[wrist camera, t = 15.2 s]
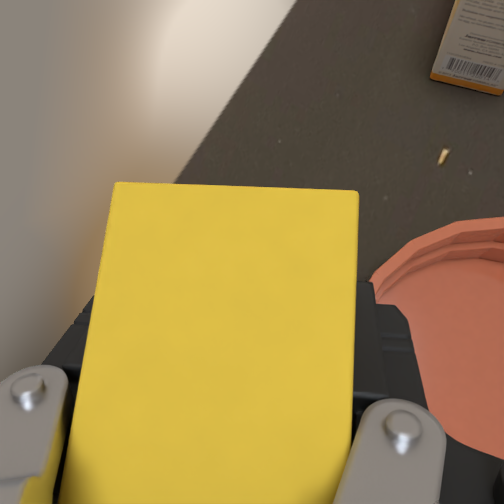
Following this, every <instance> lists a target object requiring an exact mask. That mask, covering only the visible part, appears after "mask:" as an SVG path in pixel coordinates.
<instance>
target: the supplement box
mask: <svg viewBox="0 0 504 504" xmlns="http://www.w3.org/2000/svg"><path fill="white" fill-rule="evenodd" d="M430 78H431V79H433V80H436V81H442V82H445V83H450V84H453V85H458V86H461V87H466V88H470V89H474V90H478V91H482V92H485V93H490V94H494V95H501V94H502V92H503V91H504V0H455V3H454V6H453V9H452V12H451V15H450V18H449V21H448V24H447V27H446V30H445V33H444V35H443V38H442V41H441V45H440V48H439V51H438V53H437V56H436V60H435V62H434V65H433V68H432V72H431V75H430Z"/></svg>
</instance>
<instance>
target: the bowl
mask: <svg viewBox="0 0 504 504" xmlns="http://www.w3.org/2000/svg"><path fill="white" fill-rule="evenodd" d="M368 282H373V285H374V292H375V299H376V304H390V305H396V306H397V308H398V309H399V310H400V311H401V312H402V313H403V315H404V316H405V317H406V318H407V319H408V323H409V327H410V331H411V336H412V337H411V339H412V340H413V345H414V349H415V353H416V358H417V362H418V366H419V371H420V375H421V379H422V384H423V388H424V393H425V397H426V401H427V406H428V409H429V412H430V413H431V414H433V415H434V416H435V417H436V419H437V420H438V421H439V422H440V424H441V425H442V427H443V429H444V431H445V432H446V433H447V434H448V435H449V436H451V437H452V438H454V439H455V440H457V441H459V442H461V443H462V444H464V445H467V446H469V447H471V448H474V449H476V450H479V451H482V452H484V453H487V454H490V455H492V456H495V457H498V458H500V459H503V460H504V217H496V218H485V219H475V220H464V221H457V222H454V223H451V224H449V225H446V226H444V227H442V228H439V229H437V230H434V231H432V232H430V233H427V234H425V235H422V236H420V237H418V238H415V239H413V240H411V241H410V242H408V243H407V244H406V245H405V246H404V247H403V248H401V249H400V250H399V251H398V252H397V253H396V254H394V255H393V256H392V257H391V258H390V259H389V260H387V261H386V262H385V263H384V264H383V265H382V266H381V267H379V268H378V269H377V270H376V271H375V272H374V273H373V275H372V276H371V278H370V280H369V281H368Z"/></svg>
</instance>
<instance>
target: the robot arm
mask: <svg viewBox="0 0 504 504" xmlns="http://www.w3.org/2000/svg"><path fill="white" fill-rule="evenodd" d="M93 301H94V296H93V297H92V298H91V300H90V301H89V302H88V304H87V305H86V306H85V308H84V309H83V312H82V313H80V314H79V315H78V317H77V318H76V319H75V321H74V324H72V325H71V326H70V327H69V329H68V330H67V331H66V333H65V334H64V335H63V336H62V338H61V339H60V341H59V342H58V343H57V344H56V346H55V347H54V348H53V350H52V351H51V352H50V353H49V355H48V356H47V357H46V359H45V360H44V361H43V363H42V364H41V365H37V366H31V367H27V368H24V369H22V370H19V371H17V372H15V373H13V374H11V375H10V376H8V377H7V378H5V379H4V380H3V381H2V382H0V504H58V498H59V492H60V487H61V481H62V476H63V470H64V464H65V459H66V453H67V447H68V442H69V436H70V431H71V425H72V419H73V414H74V408H75V402H76V397H77V391H78V385H79V380H80V374H81V369H82V363H83V357H84V352H85V346H86V340H87V335H88V329H89V324H90V318H91V312H92V307H93ZM411 337H412V336H411V331H410V327H409V323H408V319H407V318H406V317H405V316H404V315H403V313H402V312H401V311H400V310H399V309H398V308H397V306H396V305H390V304H376V299H375V292H374V285H373V282H363V281H357V283H356V314H355V344H354V375H353V406H352V437H351V451H350V454H349V457H348V460H347V463H346V466H345V469H344V472H343V475H342V478H341V481H340V484H339V487H338V490H337V493H336V496H335V499H334V502H333V504H504V460H503V459H500V458H498V457H495V456H492V455H490V454H487V453H484V452H482V451H479V450H476V449H474V448H471V447H469V446H467V445H464V444H462V443H461V442H459V441H457V440H455V439H454V438H452V437H451V436H449V435H448V434H447V433H446V432H445V431H444V429H443V427H442V425H441V424H440V422H439V421H438V420H437V419H436V417H435V416H434V415H433V414H431V413H430V412H429V409H428V406H427V401H426V397H425V393H424V388H423V384H422V379H421V375H420V371H419V366H418V362H417V358H416V353H415V349H414V345H413V340H412V339H411Z"/></svg>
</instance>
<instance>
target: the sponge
mask: <svg viewBox="0 0 504 504" xmlns="http://www.w3.org/2000/svg"><path fill="white" fill-rule="evenodd" d="M358 221H359V194H358V192H357V191H353V190H326V189H299V188H272V187H245V186H217V185H190V184H163V183H136V182H116V183H115V185H114V188H113V194H112V200H111V205H110V211H109V217H108V222H107V228H106V233H105V239H104V245H103V250H102V256H101V262H100V268H99V273H98V279H97V284H96V290H95V295H94V301H93V307H92V312H91V318H90V324H89V329H88V335H87V340H86V346H85V352H84V357H83V363H82V369H81V374H80V380H79V385H78V391H77V397H76V402H75V408H74V414H73V419H72V425H71V431H70V436H69V442H68V447H67V453H66V459H65V464H64V470H63V476H62V481H61V487H60V492H59V498H58V504H333V502H334V499H335V496H336V493H337V490H338V487H339V484H340V481H341V478H342V475H343V472H344V469H345V466H346V463H347V460H348V457H349V454H350V451H351V437H352V406H353V375H354V344H355V314H356V283H357V252H358Z"/></svg>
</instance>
